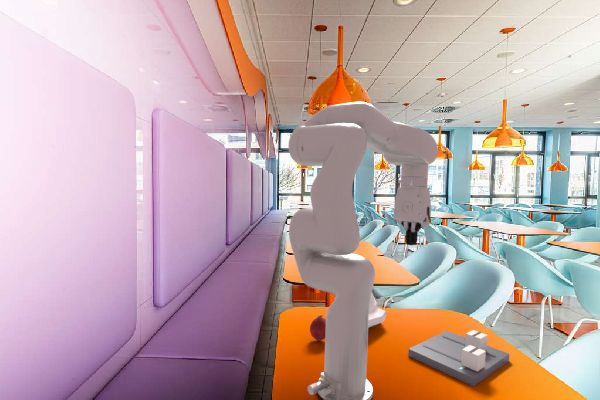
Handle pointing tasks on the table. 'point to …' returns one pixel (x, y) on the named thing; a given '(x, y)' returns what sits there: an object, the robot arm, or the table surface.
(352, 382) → the robot arm
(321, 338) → the onion
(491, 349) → the console
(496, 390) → the table surface
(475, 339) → the fader
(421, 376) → the table surface
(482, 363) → the fader
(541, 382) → the table surface
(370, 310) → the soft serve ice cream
